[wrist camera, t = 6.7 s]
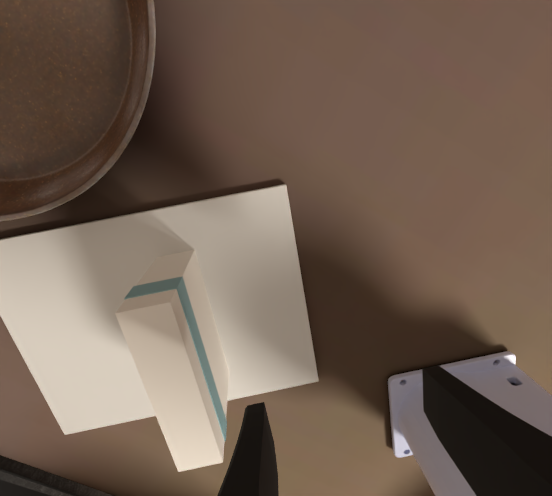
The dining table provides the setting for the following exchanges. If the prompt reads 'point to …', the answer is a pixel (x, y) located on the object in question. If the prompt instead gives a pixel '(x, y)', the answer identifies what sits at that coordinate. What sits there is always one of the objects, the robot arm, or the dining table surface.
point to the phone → (38, 482)
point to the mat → (127, 273)
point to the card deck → (179, 358)
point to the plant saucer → (68, 95)
